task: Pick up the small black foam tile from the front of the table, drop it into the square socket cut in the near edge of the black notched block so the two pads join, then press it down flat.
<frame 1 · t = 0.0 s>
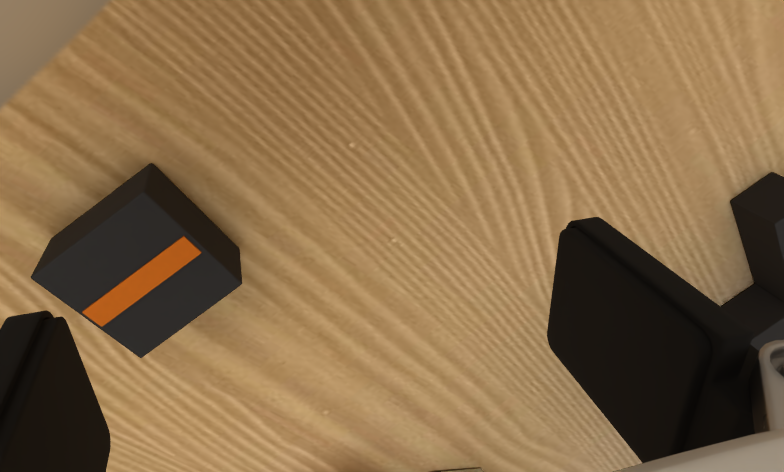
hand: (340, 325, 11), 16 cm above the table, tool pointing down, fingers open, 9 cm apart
black notched block: (724, 369, 42), on the table
tile: (149, 244, 25), on the table
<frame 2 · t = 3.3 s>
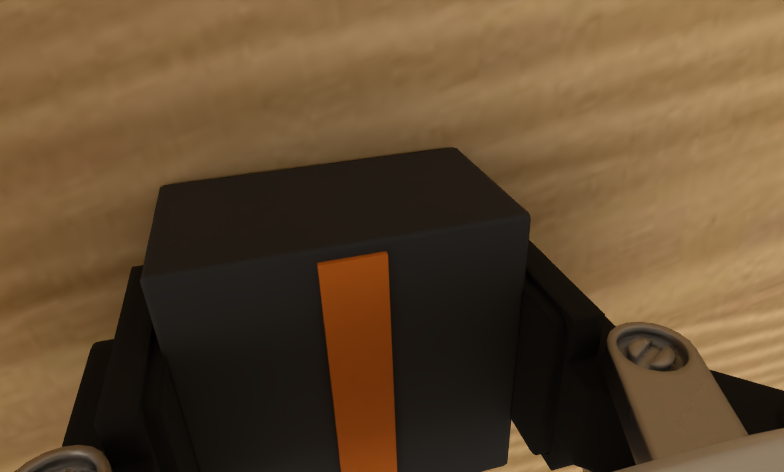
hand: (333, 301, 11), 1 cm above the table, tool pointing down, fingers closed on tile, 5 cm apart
tile: (328, 287, 12), on the table, touching gripper
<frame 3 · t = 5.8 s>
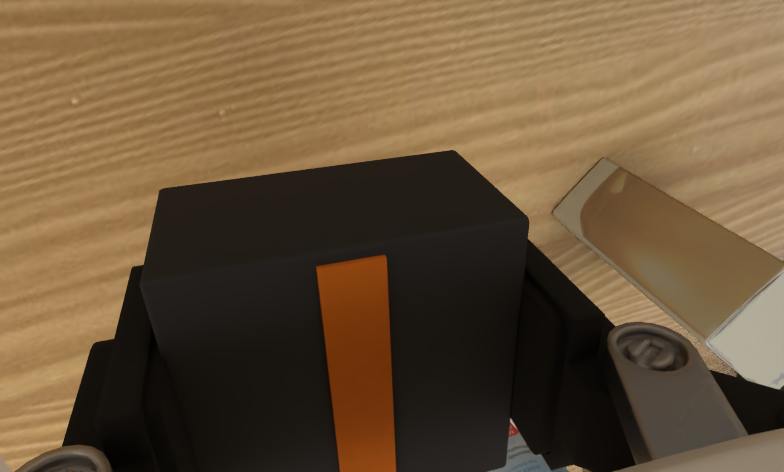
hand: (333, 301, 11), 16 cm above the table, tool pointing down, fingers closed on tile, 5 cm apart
cosmetic box: (601, 209, 33), on the table
tile: (328, 289, 12), point 15 cm above the table, touching gripper
pill bottle: (497, 440, 40), on the table
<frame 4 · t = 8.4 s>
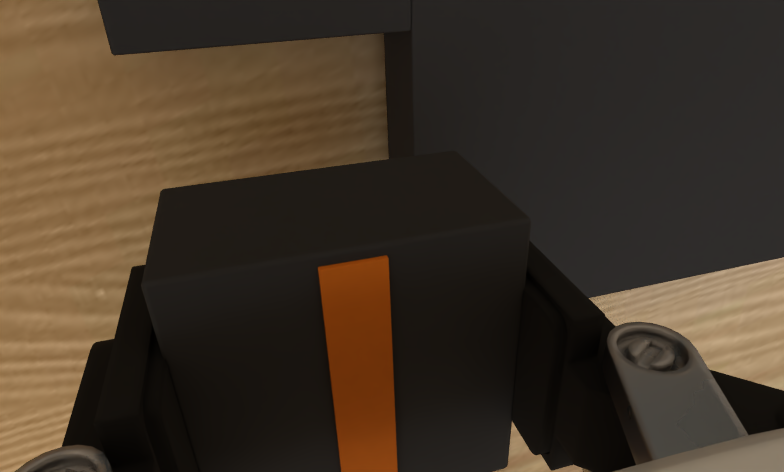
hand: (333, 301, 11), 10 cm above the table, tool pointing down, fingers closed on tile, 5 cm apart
black notched block: (546, 112, 22), on the table
tile: (329, 290, 12), point 9 cm above the table, touching gripper
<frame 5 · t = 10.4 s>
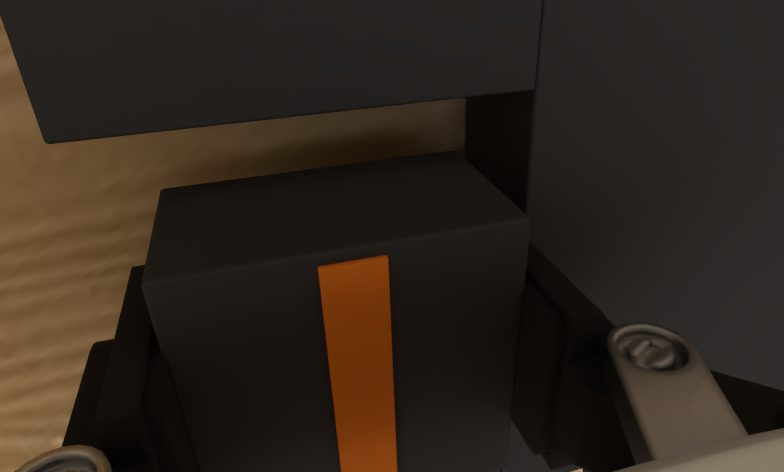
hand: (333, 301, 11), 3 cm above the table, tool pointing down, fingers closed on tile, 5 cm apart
black notched block: (674, 180, 16), on the table
tile: (329, 290, 12), point 2 cm above the table, touching gripper
when the fingers open (3 cm above the table, at t = 13.5 s): tile drops 2 cm, on the table.
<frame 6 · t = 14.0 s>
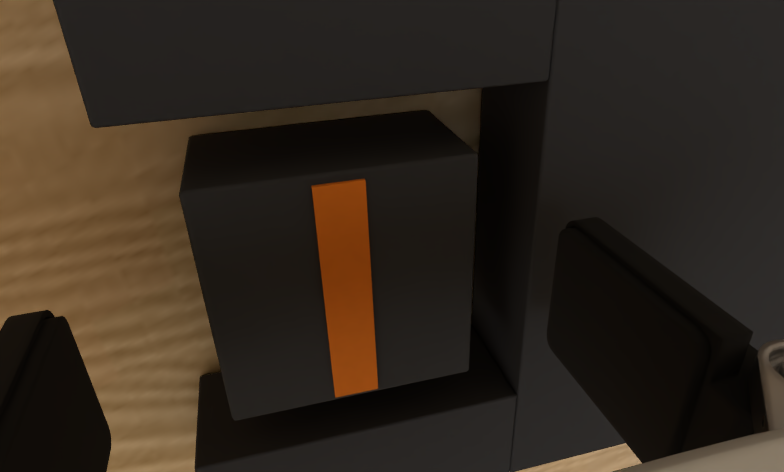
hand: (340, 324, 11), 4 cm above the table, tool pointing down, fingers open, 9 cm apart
black notched block: (682, 172, 17), on the table
tile: (324, 228, 14), on the table
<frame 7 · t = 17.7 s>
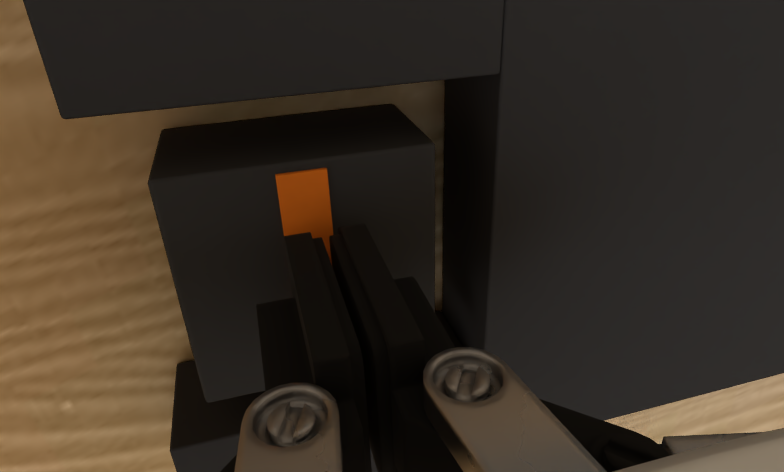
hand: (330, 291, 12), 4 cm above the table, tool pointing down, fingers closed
black notched block: (642, 164, 17), on the table
tile: (295, 218, 15), on the table
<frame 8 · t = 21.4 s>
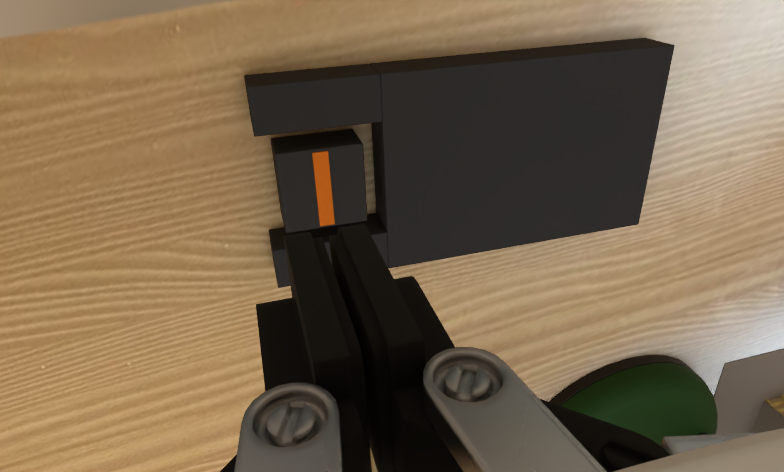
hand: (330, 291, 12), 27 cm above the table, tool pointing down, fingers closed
black notched block: (458, 152, 42), on the table
desk lamp: (575, 447, 63), on the table
tile: (316, 171, 39), on the table
architectural model: (763, 421, 71), on the table
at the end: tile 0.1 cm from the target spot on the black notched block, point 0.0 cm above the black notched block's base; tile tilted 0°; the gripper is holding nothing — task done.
